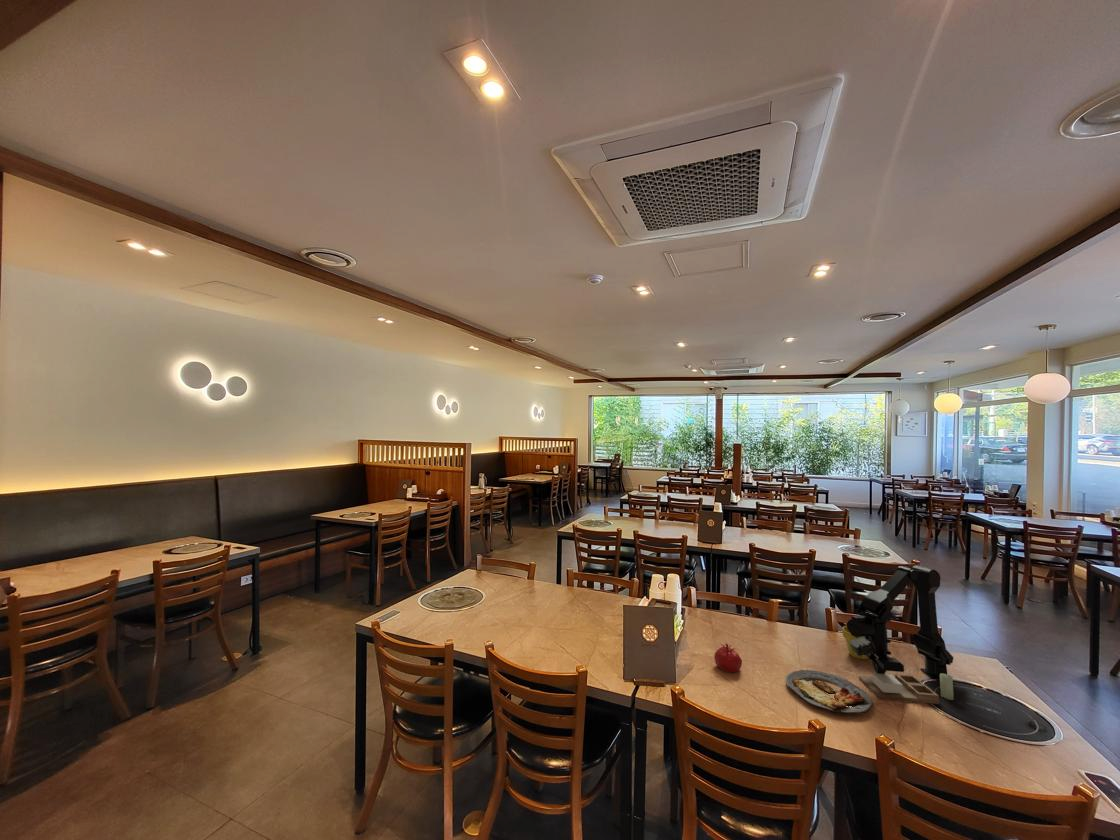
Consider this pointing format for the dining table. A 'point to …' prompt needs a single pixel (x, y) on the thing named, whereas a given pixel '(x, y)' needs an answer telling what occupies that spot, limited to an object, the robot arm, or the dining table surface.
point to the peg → (946, 686)
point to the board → (904, 690)
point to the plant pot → (848, 638)
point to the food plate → (829, 691)
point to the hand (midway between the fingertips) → (879, 678)
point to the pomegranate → (728, 659)
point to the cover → (887, 683)
